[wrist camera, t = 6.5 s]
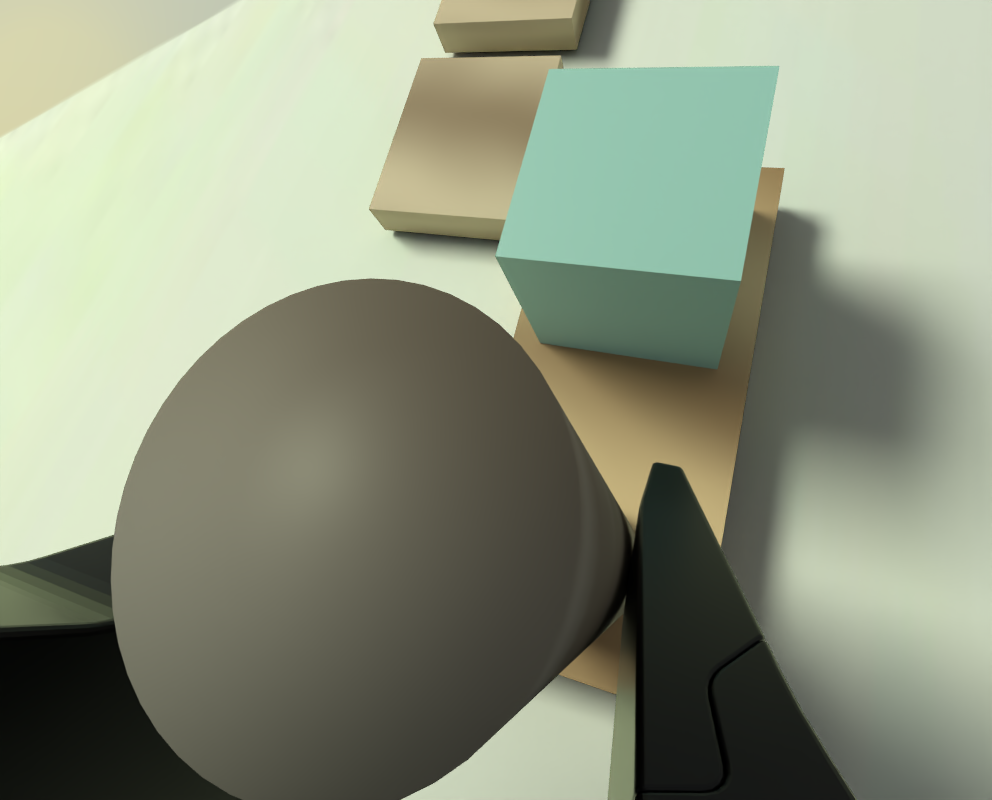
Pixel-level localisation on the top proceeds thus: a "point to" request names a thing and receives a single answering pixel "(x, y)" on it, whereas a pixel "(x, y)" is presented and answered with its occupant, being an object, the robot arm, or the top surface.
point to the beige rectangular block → (472, 117)
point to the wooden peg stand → (398, 528)
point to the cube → (638, 208)
